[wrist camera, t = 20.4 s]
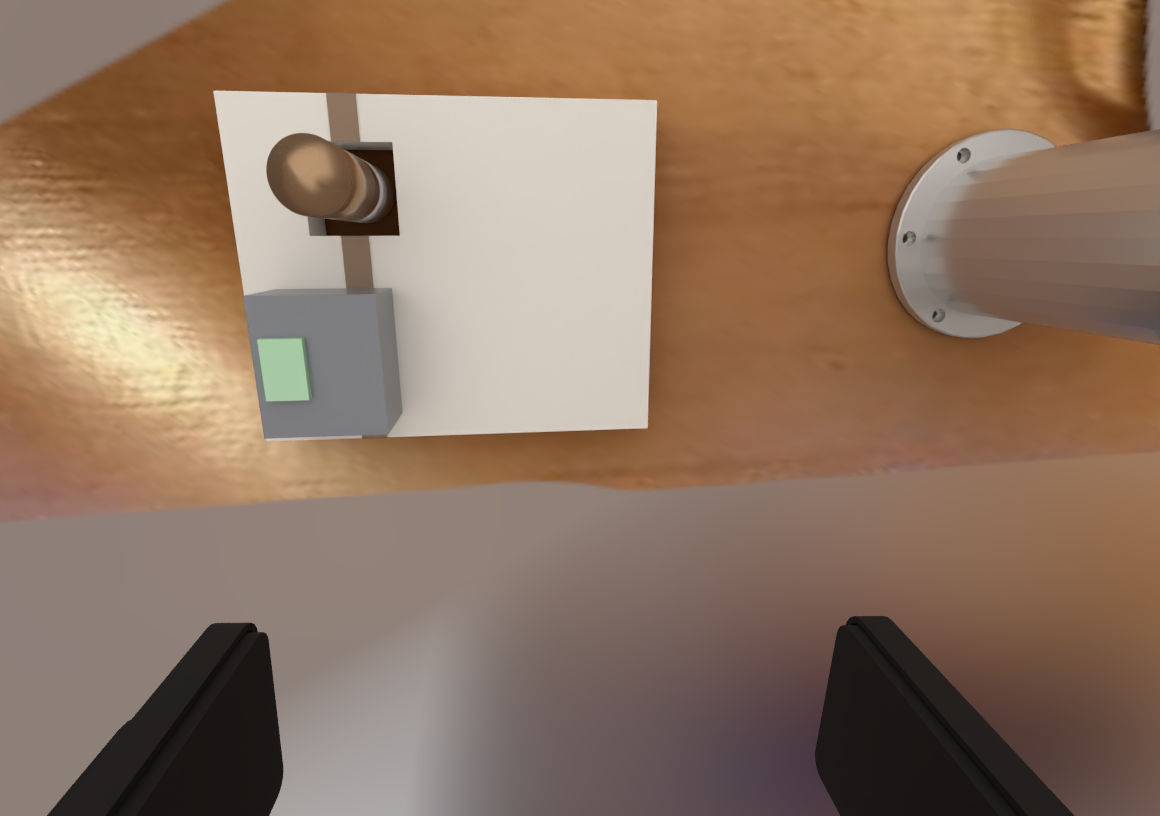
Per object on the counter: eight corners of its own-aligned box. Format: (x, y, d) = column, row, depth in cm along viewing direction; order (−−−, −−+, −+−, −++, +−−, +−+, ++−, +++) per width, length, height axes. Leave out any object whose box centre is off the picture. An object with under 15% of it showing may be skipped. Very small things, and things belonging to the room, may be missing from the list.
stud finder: (391, 287, 32) (373, 294, 28) (402, 412, 34) (387, 436, 30) (275, 289, 32) (239, 296, 28) (292, 416, 34) (261, 441, 30)
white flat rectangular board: (645, 111, 34) (657, 99, 31) (637, 414, 39) (648, 428, 36) (240, 104, 32) (212, 90, 29) (285, 425, 37) (265, 442, 34)
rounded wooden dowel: (392, 163, 34) (344, 133, 24) (397, 223, 35) (352, 217, 25) (333, 163, 33) (260, 132, 24) (339, 223, 34) (272, 216, 25)
